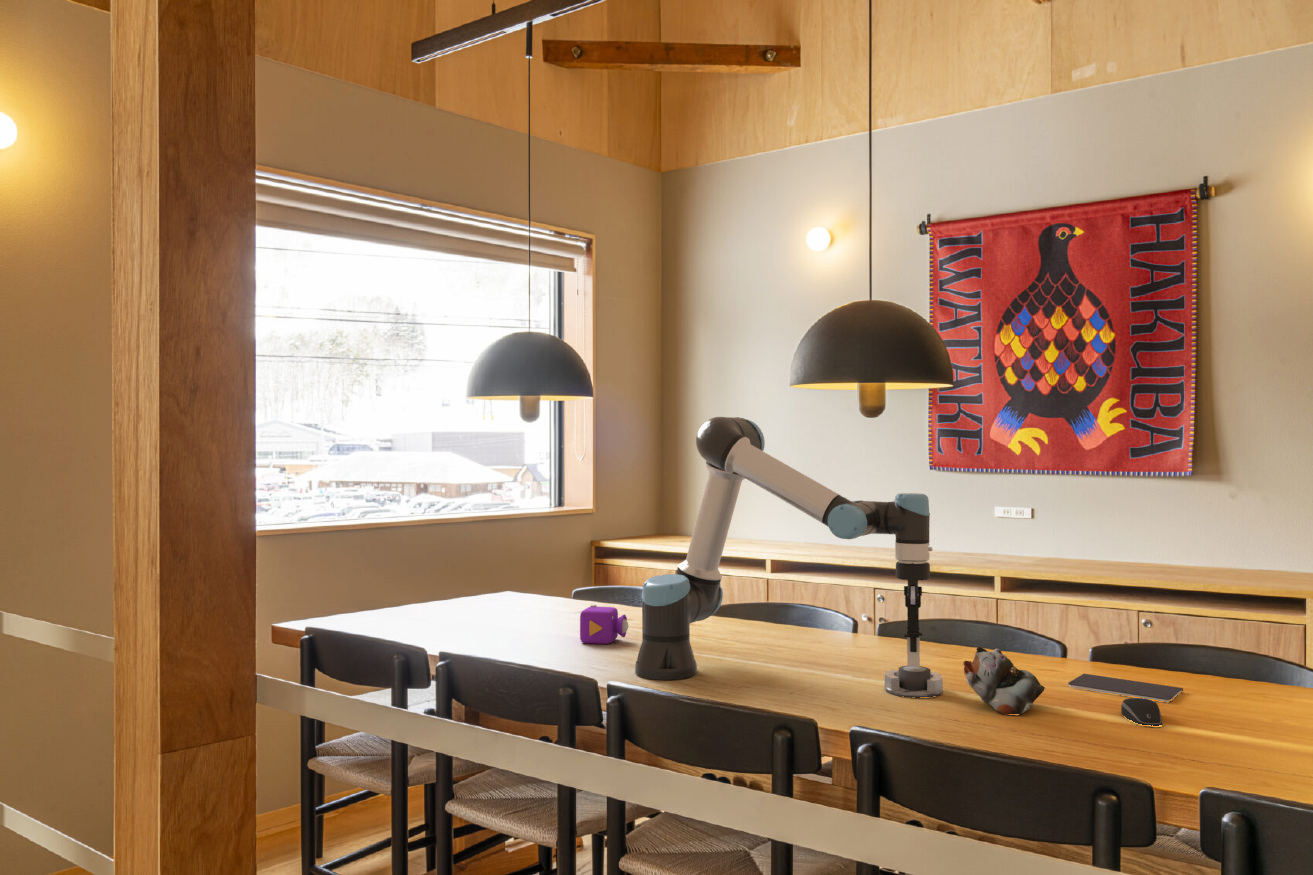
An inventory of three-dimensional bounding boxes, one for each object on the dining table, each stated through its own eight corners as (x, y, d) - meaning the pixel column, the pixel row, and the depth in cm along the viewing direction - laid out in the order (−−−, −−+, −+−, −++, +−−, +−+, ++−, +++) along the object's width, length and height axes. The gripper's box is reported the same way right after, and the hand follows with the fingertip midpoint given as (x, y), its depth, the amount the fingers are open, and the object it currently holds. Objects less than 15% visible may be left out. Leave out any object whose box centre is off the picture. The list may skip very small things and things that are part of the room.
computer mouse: (1131, 727, 187) (1131, 707, 187) (1115, 711, 199) (1115, 692, 199) (1170, 730, 186) (1170, 709, 186) (1152, 713, 198) (1152, 693, 198)
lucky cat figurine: (1019, 720, 191) (983, 657, 194) (975, 729, 201) (941, 669, 203) (1056, 687, 200) (1021, 628, 203) (1013, 698, 210) (980, 641, 212)
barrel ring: (941, 686, 219) (941, 670, 219) (943, 700, 207) (942, 683, 207) (885, 682, 222) (885, 667, 222) (883, 696, 210) (883, 679, 210)
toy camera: (627, 645, 265) (627, 609, 265) (578, 645, 265) (578, 609, 265) (629, 638, 276) (629, 603, 276) (582, 637, 276) (582, 603, 276)
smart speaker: (922, 692, 210) (922, 674, 210) (893, 687, 214) (893, 669, 214) (935, 686, 215) (935, 668, 215) (907, 681, 219) (906, 663, 219)
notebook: (1183, 694, 213) (1083, 679, 227) (1183, 687, 213) (1083, 673, 227) (1169, 706, 203) (1066, 690, 217) (1169, 699, 203) (1066, 683, 217)
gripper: (930, 565, 208) (931, 672, 207) (929, 558, 220) (930, 660, 220) (894, 564, 210) (895, 670, 209) (896, 557, 222) (897, 658, 222)
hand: (913, 665), depth 215 cm, fingers closed
